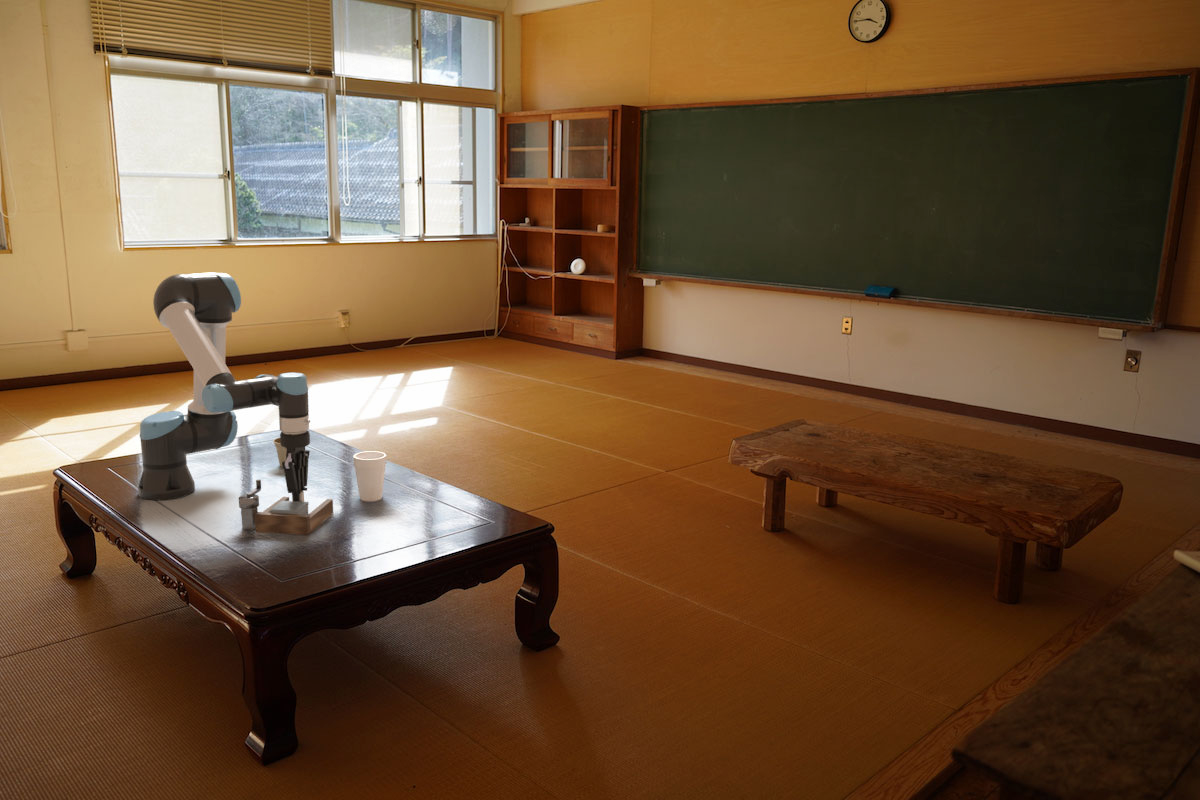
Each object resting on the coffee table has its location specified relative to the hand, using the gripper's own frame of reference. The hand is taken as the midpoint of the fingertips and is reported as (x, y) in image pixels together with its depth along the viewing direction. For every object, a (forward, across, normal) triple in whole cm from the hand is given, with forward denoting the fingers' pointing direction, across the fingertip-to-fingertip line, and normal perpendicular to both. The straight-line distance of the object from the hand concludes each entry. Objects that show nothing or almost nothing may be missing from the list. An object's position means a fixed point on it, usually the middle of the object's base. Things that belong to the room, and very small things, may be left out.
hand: (298, 514), depth 251 cm
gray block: (+1, -6, 0) cm, 6 cm away
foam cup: (+2, +21, -13) cm, 25 cm away
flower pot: (+2, +49, +24) cm, 55 cm away
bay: (+1, -1, 0) cm, 2 cm away
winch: (+1, -6, +10) cm, 12 cm away
